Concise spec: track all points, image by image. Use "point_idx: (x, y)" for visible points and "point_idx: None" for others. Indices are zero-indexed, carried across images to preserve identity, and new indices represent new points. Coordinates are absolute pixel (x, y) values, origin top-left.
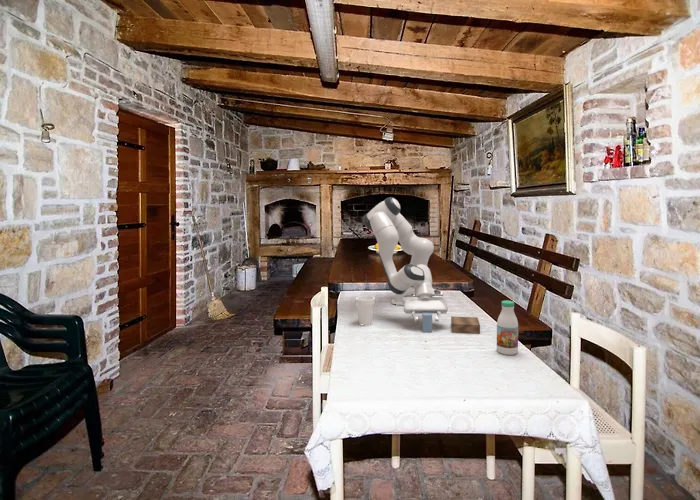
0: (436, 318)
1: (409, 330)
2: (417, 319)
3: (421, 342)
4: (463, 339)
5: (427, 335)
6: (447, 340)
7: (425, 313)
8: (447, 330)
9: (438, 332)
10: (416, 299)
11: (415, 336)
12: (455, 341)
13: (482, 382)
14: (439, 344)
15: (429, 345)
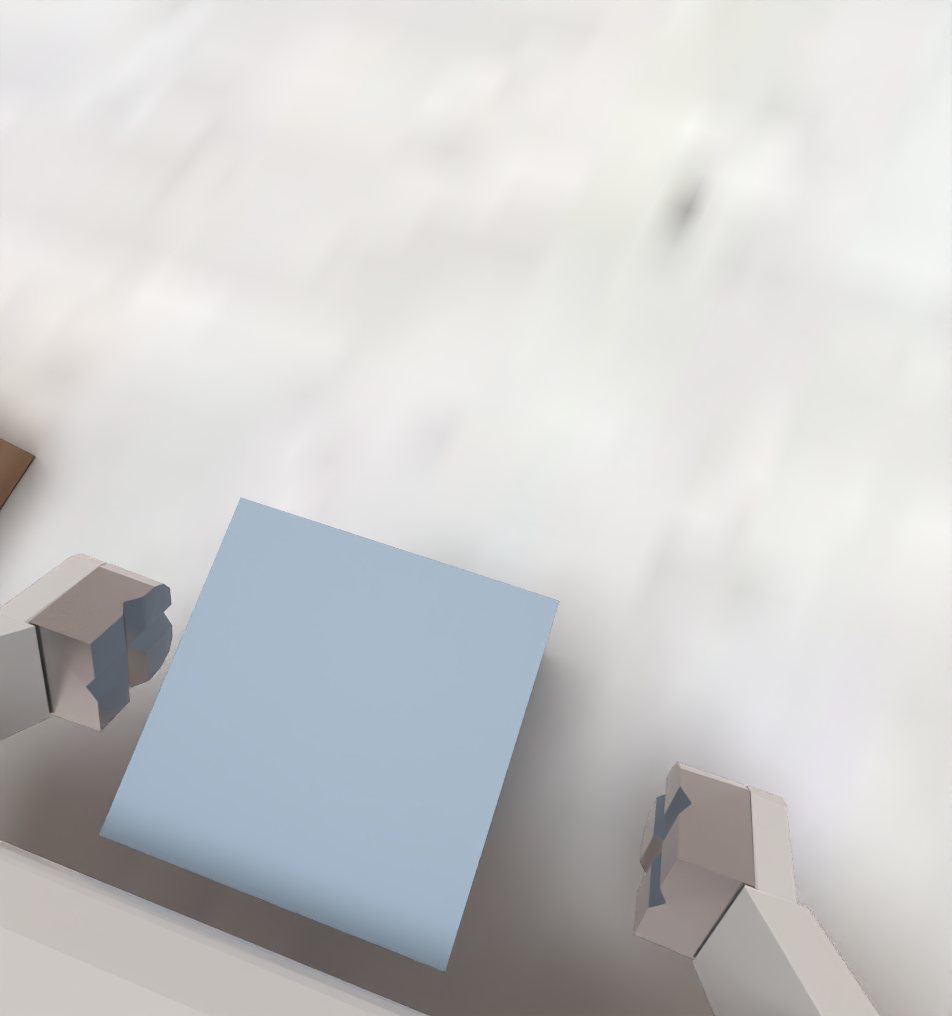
0: (111, 593)
1: None
2: (693, 773)
3: (772, 180)
4: (75, 129)
5: (534, 455)
6: (327, 153)
7: (358, 823)
8: None
9: None
10: None
11: (778, 472)
12: (237, 89)
13: None
14: (528, 45)
15: (693, 46)
